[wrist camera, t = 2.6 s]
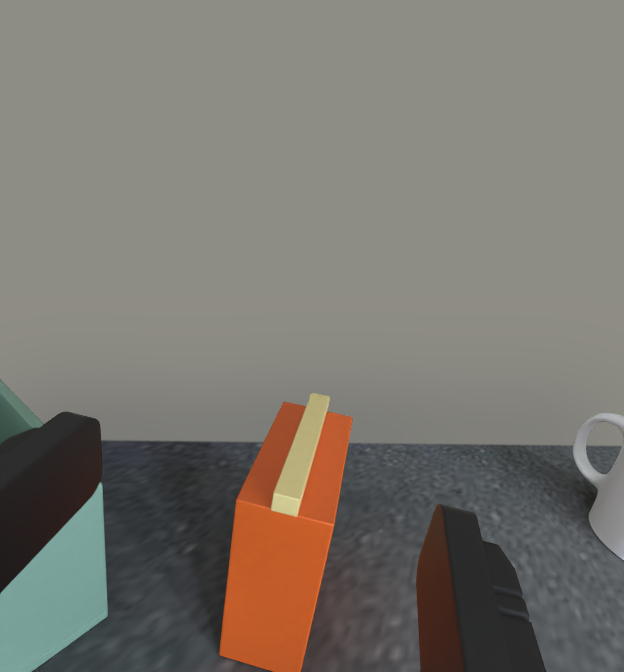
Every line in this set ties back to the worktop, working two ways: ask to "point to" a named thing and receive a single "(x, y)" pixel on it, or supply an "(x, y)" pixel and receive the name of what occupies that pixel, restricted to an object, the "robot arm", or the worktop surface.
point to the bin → (52, 574)
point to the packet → (284, 536)
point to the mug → (604, 486)
